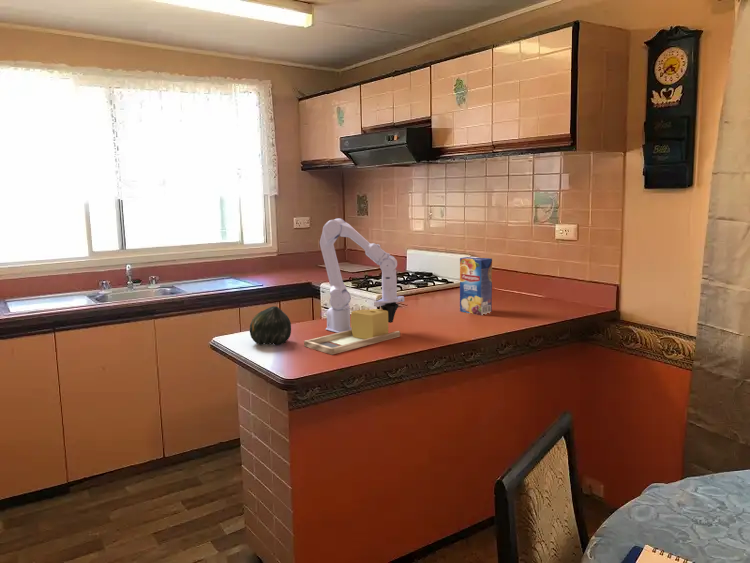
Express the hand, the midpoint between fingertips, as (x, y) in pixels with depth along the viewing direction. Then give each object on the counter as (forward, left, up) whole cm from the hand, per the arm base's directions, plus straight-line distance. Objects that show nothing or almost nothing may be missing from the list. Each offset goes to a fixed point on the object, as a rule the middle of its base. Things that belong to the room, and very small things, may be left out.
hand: (389, 322), depth 236 cm
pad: (0, -19, -4) cm, 20 cm away
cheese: (0, -10, -4) cm, 11 cm away
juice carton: (+3, +50, -4) cm, 51 cm away
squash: (-20, -41, -4) cm, 46 cm away
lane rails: (0, -18, -4) cm, 19 cm away
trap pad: (0, -30, -4) cm, 31 cm away
